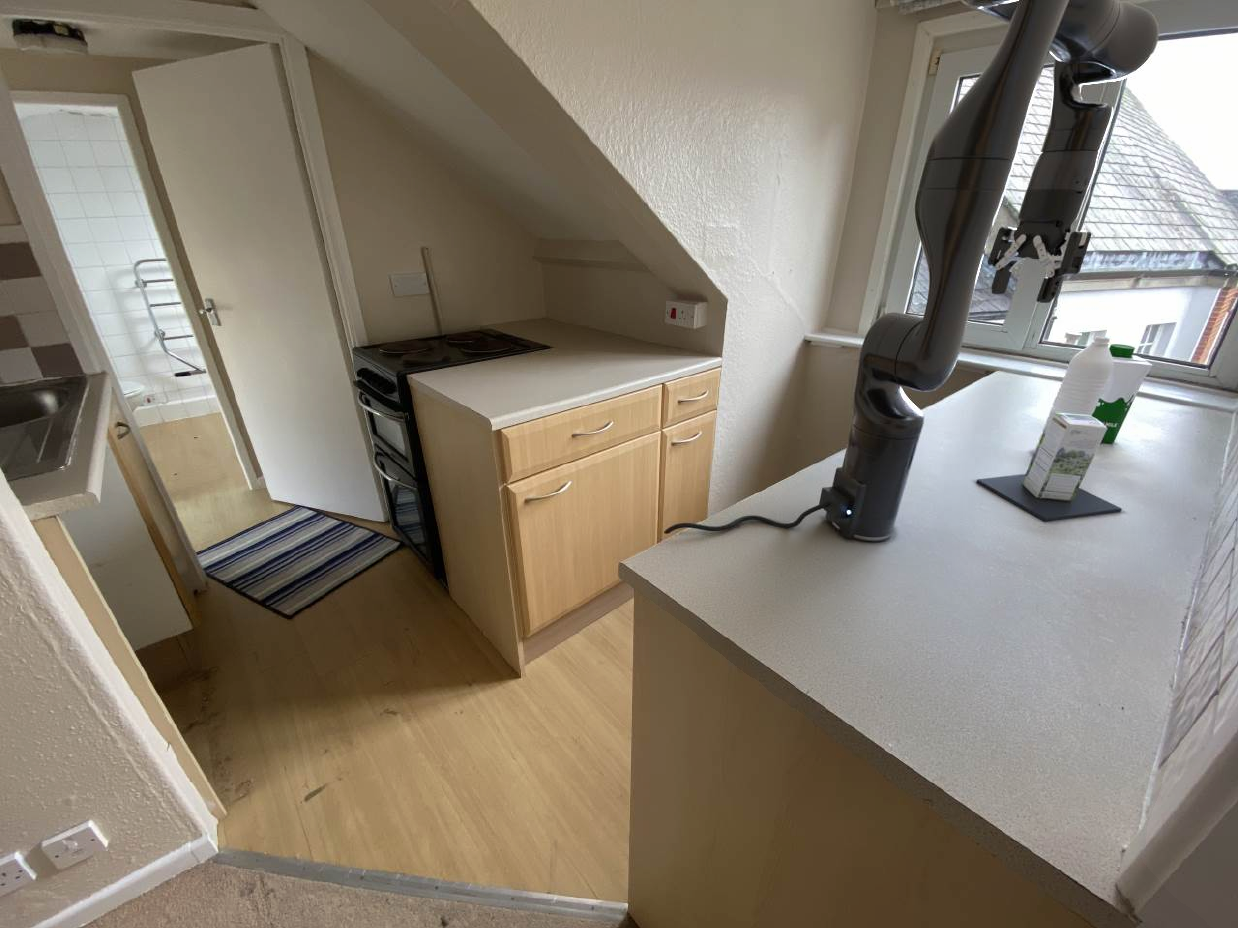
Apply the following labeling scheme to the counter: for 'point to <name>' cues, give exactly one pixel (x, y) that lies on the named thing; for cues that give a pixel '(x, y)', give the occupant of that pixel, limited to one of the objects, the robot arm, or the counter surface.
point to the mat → (1047, 500)
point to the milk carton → (1120, 389)
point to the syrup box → (1063, 455)
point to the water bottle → (1084, 378)
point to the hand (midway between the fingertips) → (1019, 298)
